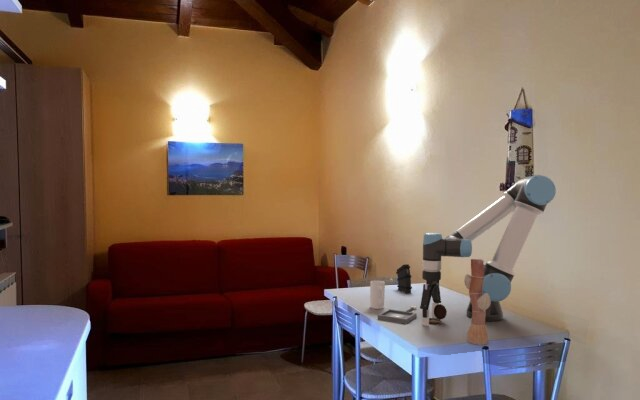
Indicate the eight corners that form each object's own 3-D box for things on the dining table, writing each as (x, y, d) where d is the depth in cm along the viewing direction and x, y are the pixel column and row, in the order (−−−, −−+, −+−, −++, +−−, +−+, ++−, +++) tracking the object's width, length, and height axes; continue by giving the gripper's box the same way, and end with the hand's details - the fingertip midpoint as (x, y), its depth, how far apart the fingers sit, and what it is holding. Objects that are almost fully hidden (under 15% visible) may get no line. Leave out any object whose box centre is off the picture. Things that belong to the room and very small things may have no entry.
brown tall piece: (493, 344, 171) (494, 260, 171) (474, 345, 170) (476, 260, 169) (477, 336, 182) (479, 256, 181) (459, 337, 180) (461, 256, 180)
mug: (367, 306, 228) (368, 280, 227) (380, 305, 229) (381, 280, 229) (376, 311, 218) (376, 284, 218) (389, 310, 220) (390, 284, 220)
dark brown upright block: (408, 291, 255) (403, 264, 261) (398, 297, 267) (394, 271, 273) (414, 291, 256) (409, 264, 262) (404, 297, 267) (400, 271, 274)
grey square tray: (416, 317, 208) (416, 313, 208) (406, 323, 198) (406, 319, 197) (389, 313, 215) (389, 309, 215) (377, 319, 204) (377, 314, 204)
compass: (423, 322, 200) (423, 304, 200) (435, 319, 205) (435, 302, 205) (438, 326, 194) (438, 308, 194) (450, 323, 199) (451, 306, 199)
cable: (416, 309, 223) (416, 306, 223) (405, 315, 211) (405, 312, 211) (411, 308, 224) (411, 305, 224) (400, 314, 213) (400, 311, 213)
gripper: (432, 265, 213) (430, 314, 213) (412, 273, 192) (411, 326, 192) (448, 267, 209) (447, 316, 209) (431, 275, 188) (429, 330, 188)
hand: (430, 321), depth 201 cm, fingers open, 12 cm apart
